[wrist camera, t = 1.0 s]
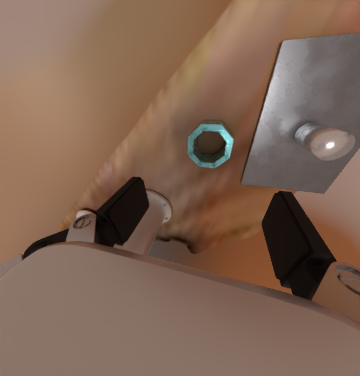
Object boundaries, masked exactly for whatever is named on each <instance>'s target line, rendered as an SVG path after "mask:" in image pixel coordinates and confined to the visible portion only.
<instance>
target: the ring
mask: <svg viewBox="0 0 360 376" xmlns="http://www.w3.org/2000/svg"><path fill="white" fill-rule="evenodd" d="M203 131H218V132H219V133H220V134H221V136H222V137H223V138H224V139H225V146H224V148H223V149H222V150H220V151H219V152H218V153H216V154H215V155H212V154H203V152H202V151H201V150H200V149H199V148H198V147H197V136H198V135H200V134H201V133H202V132H203ZM232 145H233V135H232V133H231V131H230V130H229V129H228V127H227V126H226V125H225V124H224V122H223V121H222V120H204V121H203V122H202V123H201V124H200V125H199V126H198V127H197V128H196V129H195V130H194V131H193V132H192V133H191V134H190V135H189V137H188V156H189V157H190V158H191V159H192V160H193V161H194V162H195V163H196V164H197V165H198V167H207V168H216V167H218V166H219V165H221V164H222V163H223V162H225V161H226V160H228V159H229V158H230V154H231V149H232Z"/></svg>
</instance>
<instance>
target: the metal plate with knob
mask: <svg viewBox="0 0 360 376" xmlns="http://www.w3.org/2000/svg"><path fill="white" fill-rule="evenodd" d="M359 148H360V33H354V34H344V35H334V36H325V37H315V38H305V39H295V40H286V41H282V42H281V43H280V46H279V49H278V53H277V56H276V60H275V63H274V67H273V70H272V73H271V77H270V80H269V84H268V87H267V91H266V94H265V98H264V101H263V105H262V108H261V112H260V115H259V119H258V122H257V126H256V129H255V133H254V136H253V140H252V143H251V147H250V150H249V154H248V157H247V161H246V164H245V167H244V171H243V174H242V178H241V181H240V182H241V184H245V185H253V186H262V187H270V188H279V189H288V190H296V191H305V192H314V193H322V194H323V193H325V191H326V190H327V189H328V188H329V186H330V185H331V184H332V183H333V181H334V180H335V179H336V178H337V176H338V175H339V174H340V172H341V171H342V170H343V169H344V167H345V166H346V165H347V163H348V162H349V161H350V159H351V158H352V157H353V156H354V154H355V153H356V152H357V150H358V149H359Z"/></svg>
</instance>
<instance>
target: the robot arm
mask: <svg viewBox="0 0 360 376" xmlns="http://www.w3.org/2000/svg"><path fill="white" fill-rule="evenodd" d="M96 212H97V215H96V216H95V215H94V214H92V213H89V214H84V215H82V216H80V217H78V218H76V219H75V220H74V221H73V222H72V223H71V225H70V228H69V229H66V230H64V231H61V232H58V233H56V234H53V235H50V236H48V237H45V238H43V239H40V240H38V241H36V242H34V243H33V244H32V245H31V246H30V247H28V249H27V250H26V251H25V252H24V254H19V255H18V256H16V257H14V258H12V259H10V260H8V261H7V262H5V263H3V264H1V265H0V376H360V269H359V268H357V267H355V266H353V265H351V264H348V263H345V262H339V261H336V259H335V258H334V256H333V255H332V253H331V252H330V250H329V249H328V247H327V245H326V244H325V242H324V241H323V239H322V238H321V236H320V235H319V233H318V232H317V230H316V229H315V227H314V226H313V224H312V222H311V221H310V219H309V218H308V217H307V215H306V214H305V212H304V210H303V209H302V207H301V206H300V204H299V203H298V201H297V200H296V198H295V197H294V195H293V194H292V192H286V191H279V192H278V193H275V194H274V196H273V198H272V200H271V203H270V205H269V207H268V209H267V211H266V214H265V216H264V218H263V220H262V228H263V232H264V236H265V239H266V243H267V247H268V250H269V253H270V258H271V261H272V265H273V269H274V272H275V276H276V278H277V279H279V280H280V283H281V286H282V287H287V288H291V290H292V293H293V295H291V294H288V293H285V292H281V291H277V290H274V289H271V288H267V287H263V286H259V285H256V284H253V283H249V282H245V281H241V280H238V279H234V278H230V277H226V276H222V275H219V274H215V273H211V272H207V271H204V270H200V269H196V268H192V267H188V266H184V265H180V264H177V263H172V262H169V261H165V260H161V259H157V258H153V257H149V256H147V254H148V252H149V250H150V248H151V246H152V243H153V241H154V239H155V237H156V235H157V233H158V231H159V229H160V226H161V224H162V223H165V222H167V221H168V220H169V219H170V217H171V215H172V208H171V205H170V203H169V202H168V201H167V200H166V199H165V198H164V197H163V196H162V195H160V194H158V193H156V192H154V191H150V190H146V189H145V185H144V182H143V180H142V179H141V178H140V177H132V178H131V179H130V180H129V181H128V182H127V183H126V184H125V185H124V186H122V187H121V188H120V189H119V190H118V191H117V192H116V193H115V194H114V195H113V196H112V197H111V198H110V199H109V200H108V201H107V202H106V203H104V204H103V205H102V206H101V207H100V208H99V209H98V210H97V211H96Z"/></svg>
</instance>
